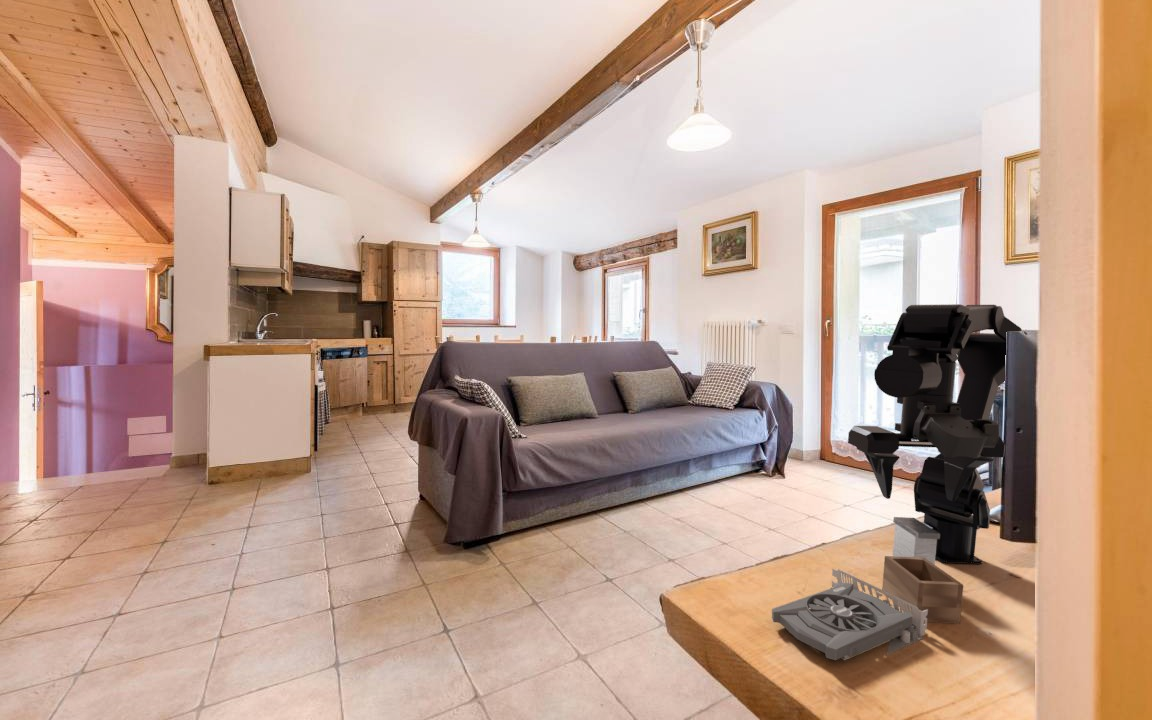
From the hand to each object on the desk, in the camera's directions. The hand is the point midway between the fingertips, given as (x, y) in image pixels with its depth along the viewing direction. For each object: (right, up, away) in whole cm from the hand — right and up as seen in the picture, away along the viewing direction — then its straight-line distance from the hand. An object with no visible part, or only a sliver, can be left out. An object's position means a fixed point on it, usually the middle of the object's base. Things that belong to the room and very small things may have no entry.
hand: (918, 498), depth 70 cm
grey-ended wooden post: (0, -12, +1) cm, 12 cm away
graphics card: (-18, -13, -11) cm, 24 cm away
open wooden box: (-5, -12, -6) cm, 15 cm away
